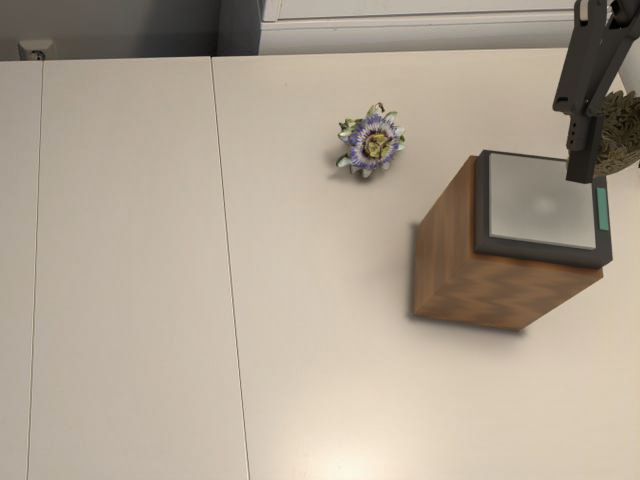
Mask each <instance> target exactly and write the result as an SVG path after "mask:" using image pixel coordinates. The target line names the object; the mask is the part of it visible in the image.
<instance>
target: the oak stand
mask: <svg viewBox="0 0 640 480" xmlns="http://www.w3.org/2000/svg"><path fill="white" fill-rule="evenodd" d="M478 156H479V155H474V154H470V155H469V156H468V157H467V159H466V160H465V161H464V163H463V165H462V166H461V167H460V168H459V170H458V171H457V172H456V173H455V175H454V177H453V178H452V179H451V181H449V182H448V185H447V186H446V188H445V189H444V190H443V191H442V193H441V194H440V196H439V197H438V198H437V199H436V200H435V202H434V204H433V205H432V206H431V207H430V209H429V210H428V212H427V213H426V214H425V216H424V217H423V218H422V220H421V222H420V223H419V224H418V226H417V227H416V239H415V240H416V241H415V261H414V263H415V265H414V284H413V285H414V287H413V309H412V315H413V316H415V317H421V318H429V319H435V320H442V321H449V322H455V323H463V324H470V325H477V326H484V327H489V328H496V329H503V330H509V331H510V330H511V331H517V332H520V331H522V330H524V329H525V328H526V327H528V326H530V325H531V324H533V323H534V322H536V321H538V320H539V319H540V318H542V317H544V316H545V315H548V313H550V312H552V311H554V310H555V309H557V308H558V307H559V306H562V305H563V304H565V303H566V302H567V301H569V300H571V299H572V298H574V297H575V296H577V295H579V294H580V293H582V292H583V291H584V290H586V289H588V288H589V287H591V286H593V285H594V284H596V283H597V282H599V281H601V280H602V279H603V278H604V267H602V268H601V269H599V270H598V269H590V268H583V267H576V266H568V265H561V264H554V263H546V262H539V261H531V260H524V259H517V258H509V257H502V256H494V255H487V254H480V253H474V161H475V160H476V158H477V157H478Z"/></svg>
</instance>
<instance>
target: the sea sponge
mask: <svg viewBox="0 0 640 480" xmlns="http://www.w3.org/2000/svg"><path fill="white" fill-rule="evenodd" d="M595 115H605V119H604V124H603V129H602V134H601V139H600V144H599V149H598V154H597V159H596V164H595V169H594V174H593V178H594V177H596V176H606V177H607V176H610V175H614V174H617V173H619V172H621V171H624V170H625V169H627V168H628V167H631V166H632V165H634V164H635V163H637V162H639V161H640V96H637V93H636V90H631V91H629V92H628V93H627V94H626V95H625V92H624V91H623V90H622V89H619V90H617V91H615V92H614V91H613V90H612V91H610V92H609V93H607V94H606V96H605V98H604V100H603V102H602V104H601V106H600V108H599V110H598V112H597V113H596V114H595ZM570 151H571V150H567V154H568V155H567V156H568V157H567V158H566V159H567V161H566V170H567V168H568V162H569V157H570Z"/></svg>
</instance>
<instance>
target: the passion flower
mask: <svg viewBox="0 0 640 480" xmlns="http://www.w3.org/2000/svg"><path fill="white" fill-rule="evenodd" d="M377 105H378V107H377ZM378 108H379V109H381V111H380V112H381V113H382V114H383V113H385V112H386V108H385V106H384V105H383V102H381V101H380V102H379V101H378V102H376V104H372V105H371V106H370V108H369V109H368V111H367V113H366V115H365V117H363V118H356V119H353V118H350V117H348V118H345V119H344V123H342V122H340V121H339V122H338V126H339V127H340V129H341V131H340V132H339V133H337V138H338V139H339V140H340V141H342V142H343V143H345V144H346V145H348V149H347V152H346V153H344V154H341V155H340V156H339V157H337V158H336V160H335V163H334V166H335V167H337V168H343V167H345V166H348V165H349V172H350V174H351V175H353V174H355V173H356V172H357V171H360V174H361V177H362V178H363V179H366V178H368V177H369V176H370V175H371V174H372V172H373V171H374V169H378V167H379V169H381V170H385V171H387V170H389V167H390V164H391V163H392V162H391V161H390V159H391V160H393V161H395V158H394V155H395V153H396V152H400V151H403V150H404V149H406V148H407V143H406V142H405V141H406V139H405V136H404V134H405V132H406V128H404V127H403V126H400V125H395V122H394V121H395V119H396V117H397V115H398V113H399V111H398V110H396V109H394V110H391V111H389V112H388V113H386V114H385V116H384V117H383V116H382V115H379V114H380V113H379V112H378ZM350 123H351V124H353V123H355V124H353V125H351V126H350Z"/></svg>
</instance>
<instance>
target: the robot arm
mask: <svg viewBox="0 0 640 480" xmlns="http://www.w3.org/2000/svg"><path fill="white" fill-rule="evenodd" d="M610 13H611V14H610ZM608 14H610V16H609V18H608ZM607 19H608V20H607ZM639 38H640V0H575V2H574V4H573V29H572V33H571V37H570V40H569V44H568V47H567V50H566V55H565V59H564V62H563V65H562V69H561V73H560V77H559V79H558V83H557V87H556V91H555V94H554V98H553V102H552V105H551V109H552V111H554V112H556V113H557V112H559V113H562V114H563V115H564V116H568V117H569V126H568V131H567V137H566V142H565V143H566V144H565V146H566V150H567V151H568V150H571V151H570V157H569V156H568V157H569V162H568V168H567V174H566V179H565V180H566V181H571V182H576V183H581V184H589V183H592V179H593V174H594V169H595V164H596V159H597V154H598V149H599V144H600V139H601V134H602V129H603V124H604V119H605V115H595V114H596V113H597V112H598V110H599V108H600V106H601V104H602V102H603V100H604V98H605V97H606V96H607V95H608V92H609V90H610V88H611V86H612V84H613V83H614V80H615V79H616V77H617V75H618V73H619V72H620V69H621V67H622V65H623V64H624V61H625V59H626V57H627V56H628V55H629V52H630V50H631V48H632V46H633V44H634V42H635V41H637V40H638V39H639ZM637 168H638V169H640V160H638V166H637Z"/></svg>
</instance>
